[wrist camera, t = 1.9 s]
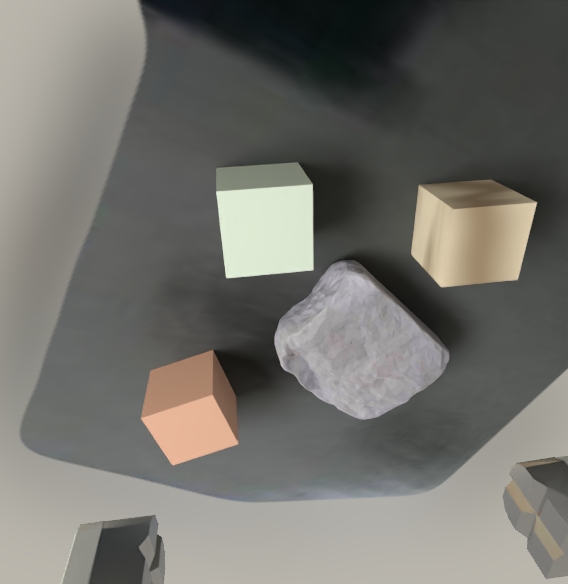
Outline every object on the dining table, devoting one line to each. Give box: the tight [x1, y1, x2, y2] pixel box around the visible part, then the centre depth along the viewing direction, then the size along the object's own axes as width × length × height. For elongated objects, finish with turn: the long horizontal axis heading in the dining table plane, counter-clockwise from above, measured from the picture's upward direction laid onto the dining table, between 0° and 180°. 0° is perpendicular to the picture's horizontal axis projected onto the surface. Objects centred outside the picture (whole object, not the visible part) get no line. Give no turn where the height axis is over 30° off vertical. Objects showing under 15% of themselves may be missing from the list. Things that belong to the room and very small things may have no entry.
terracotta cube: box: [141, 350, 239, 465], centre depth 33 cm, size 5×5×5 cm
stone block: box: [275, 260, 449, 419], centre depth 34 cm, size 12×5×10 cm
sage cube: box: [216, 162, 313, 278], centre depth 26 cm, size 5×5×5 cm
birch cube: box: [411, 179, 537, 287], centre depth 29 cm, size 5×5×5 cm
